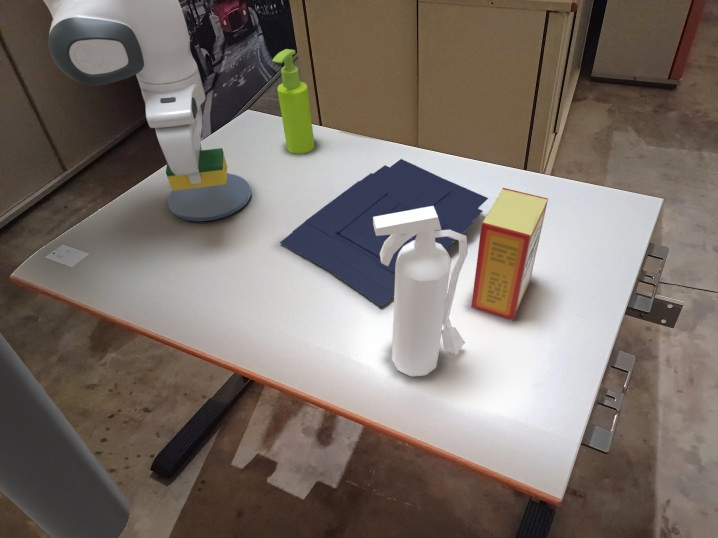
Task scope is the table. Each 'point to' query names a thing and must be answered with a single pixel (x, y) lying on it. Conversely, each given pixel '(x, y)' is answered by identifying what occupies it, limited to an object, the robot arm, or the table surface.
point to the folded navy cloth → (356, 231)
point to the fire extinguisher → (420, 288)
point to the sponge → (203, 171)
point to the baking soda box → (507, 252)
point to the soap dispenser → (294, 106)
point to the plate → (210, 200)
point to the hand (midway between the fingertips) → (197, 169)
